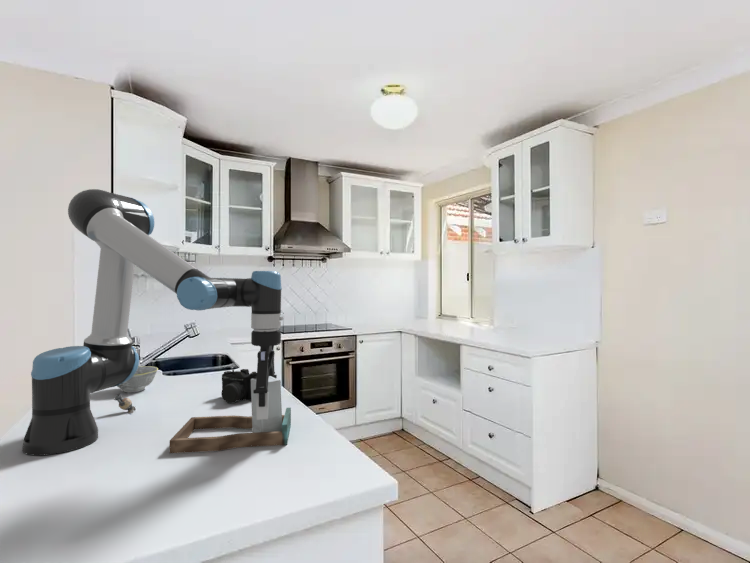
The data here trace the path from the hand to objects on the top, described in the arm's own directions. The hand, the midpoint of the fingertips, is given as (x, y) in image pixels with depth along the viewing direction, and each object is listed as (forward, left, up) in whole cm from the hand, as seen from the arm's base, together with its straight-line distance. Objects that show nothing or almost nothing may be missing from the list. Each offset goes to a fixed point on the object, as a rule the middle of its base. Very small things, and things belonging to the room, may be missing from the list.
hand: (265, 410), depth 110 cm
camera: (-14, +36, -7) cm, 39 cm away
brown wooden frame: (-7, 0, -6) cm, 9 cm away
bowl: (-55, +55, -7) cm, 78 cm away
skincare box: (0, 0, -7) cm, 7 cm away
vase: (-46, +27, -7) cm, 54 cm away
